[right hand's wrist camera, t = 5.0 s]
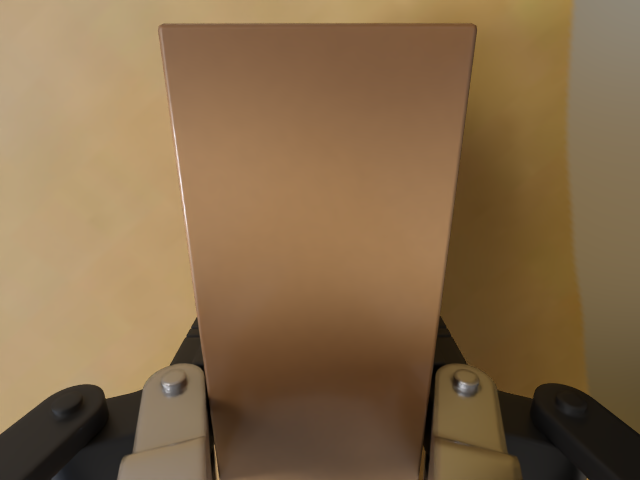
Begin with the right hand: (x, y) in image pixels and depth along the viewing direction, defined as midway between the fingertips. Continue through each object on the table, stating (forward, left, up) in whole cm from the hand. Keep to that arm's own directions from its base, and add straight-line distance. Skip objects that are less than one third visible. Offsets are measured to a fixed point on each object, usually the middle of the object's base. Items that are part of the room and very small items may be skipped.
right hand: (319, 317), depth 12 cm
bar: (+10, -30, -4) cm, 31 cm away
